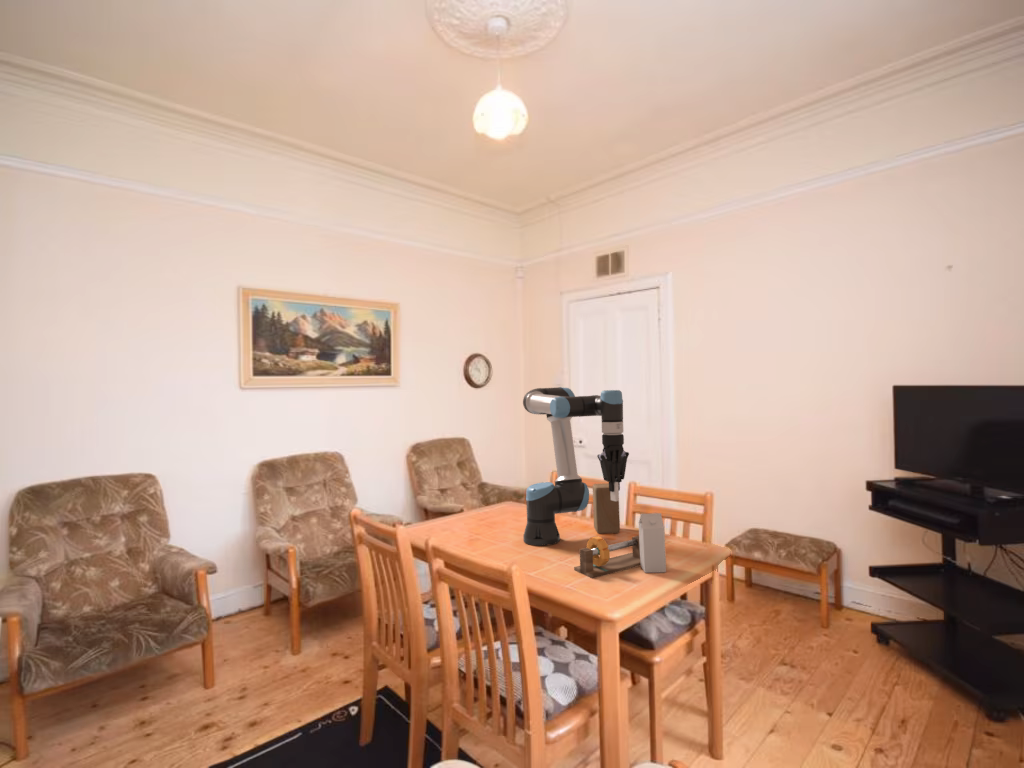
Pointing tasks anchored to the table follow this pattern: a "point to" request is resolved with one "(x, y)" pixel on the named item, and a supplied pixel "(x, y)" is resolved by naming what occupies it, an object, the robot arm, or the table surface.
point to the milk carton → (652, 543)
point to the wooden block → (605, 510)
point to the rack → (612, 565)
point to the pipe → (616, 546)
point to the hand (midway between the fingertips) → (614, 500)
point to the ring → (603, 550)
